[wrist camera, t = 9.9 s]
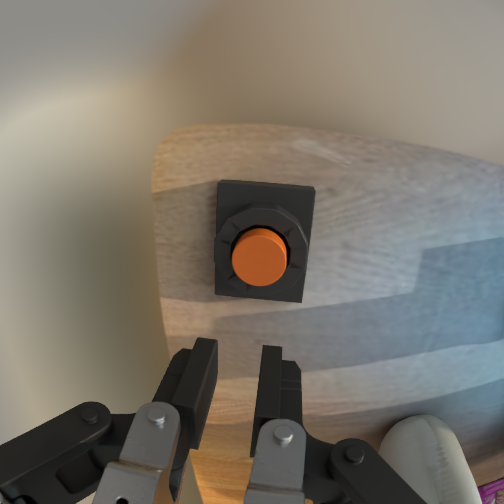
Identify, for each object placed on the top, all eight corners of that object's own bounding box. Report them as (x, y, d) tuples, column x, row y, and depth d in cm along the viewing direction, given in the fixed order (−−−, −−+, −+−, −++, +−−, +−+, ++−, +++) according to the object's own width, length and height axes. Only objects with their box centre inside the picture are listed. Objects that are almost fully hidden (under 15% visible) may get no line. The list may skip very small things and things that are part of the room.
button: (236, 225, 22) (232, 233, 21) (288, 230, 22) (289, 238, 21) (234, 273, 24) (230, 284, 22) (283, 278, 23) (283, 289, 22)
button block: (222, 179, 25) (212, 186, 21) (313, 186, 24) (318, 194, 21) (218, 285, 28) (210, 305, 24) (300, 293, 27) (302, 314, 24)
